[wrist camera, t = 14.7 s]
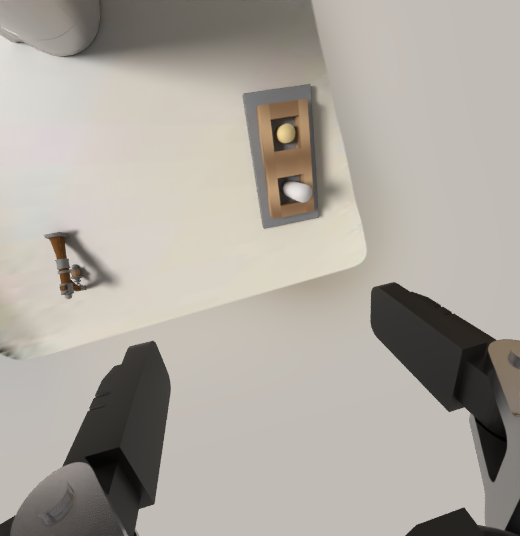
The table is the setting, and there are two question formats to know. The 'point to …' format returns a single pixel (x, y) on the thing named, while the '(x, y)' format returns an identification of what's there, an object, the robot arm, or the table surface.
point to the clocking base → (282, 141)
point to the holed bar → (286, 155)
